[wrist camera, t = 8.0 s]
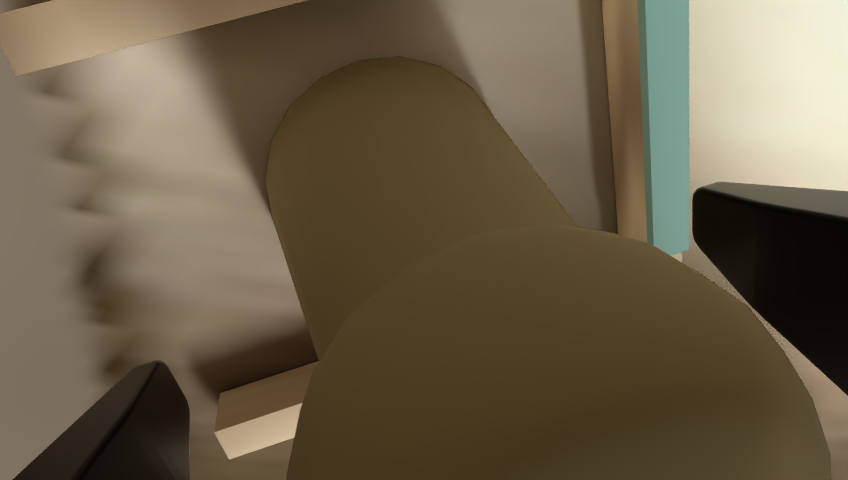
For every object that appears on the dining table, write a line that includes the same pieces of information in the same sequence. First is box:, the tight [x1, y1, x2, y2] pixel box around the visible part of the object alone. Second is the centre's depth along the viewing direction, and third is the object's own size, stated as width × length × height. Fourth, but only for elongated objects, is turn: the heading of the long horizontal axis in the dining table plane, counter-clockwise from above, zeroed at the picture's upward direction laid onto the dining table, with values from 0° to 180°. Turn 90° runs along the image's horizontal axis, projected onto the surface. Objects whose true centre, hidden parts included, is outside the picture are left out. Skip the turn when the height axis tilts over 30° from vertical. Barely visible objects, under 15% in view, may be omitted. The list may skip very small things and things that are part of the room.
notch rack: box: [0, 0, 689, 459], centre depth 13 cm, size 31×13×2 cm, turn 13°
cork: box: [265, 57, 831, 480], centre depth 9 cm, size 6×6×11 cm
